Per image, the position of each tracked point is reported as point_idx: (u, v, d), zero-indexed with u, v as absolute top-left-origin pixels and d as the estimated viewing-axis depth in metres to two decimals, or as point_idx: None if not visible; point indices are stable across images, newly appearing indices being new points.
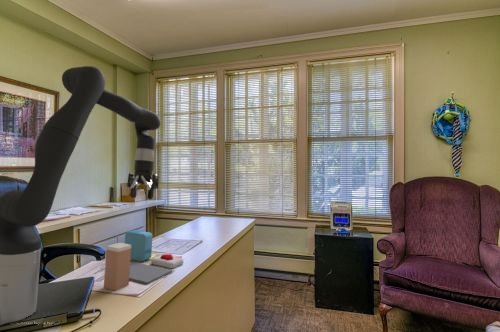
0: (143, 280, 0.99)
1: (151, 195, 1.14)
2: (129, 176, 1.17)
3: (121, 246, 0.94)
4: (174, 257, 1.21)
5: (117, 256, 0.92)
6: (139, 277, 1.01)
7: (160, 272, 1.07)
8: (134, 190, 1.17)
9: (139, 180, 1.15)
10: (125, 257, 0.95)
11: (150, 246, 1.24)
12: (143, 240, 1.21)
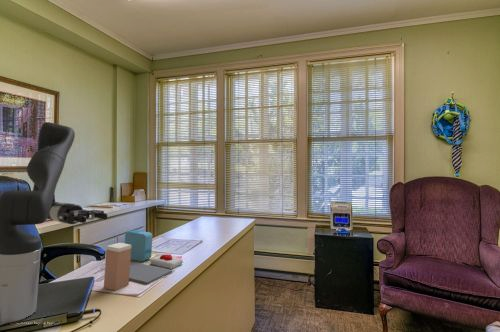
0: (143, 280, 0.99)
1: None
2: (63, 214, 0.98)
3: (121, 246, 0.94)
4: (173, 257, 1.21)
5: (117, 256, 0.92)
6: (139, 277, 1.01)
7: (160, 272, 1.07)
8: None
9: (80, 213, 1.02)
10: (125, 257, 0.95)
11: (150, 246, 1.24)
12: (143, 240, 1.21)
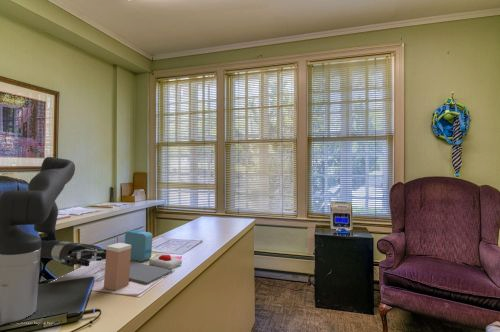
0: (143, 280, 0.99)
1: None
2: (65, 256, 0.96)
3: (121, 246, 0.94)
4: (172, 258, 1.20)
5: (117, 256, 0.92)
6: (139, 277, 1.01)
7: (160, 272, 1.07)
8: None
9: (82, 253, 1.00)
10: (125, 257, 0.95)
11: (150, 246, 1.24)
12: (143, 240, 1.21)
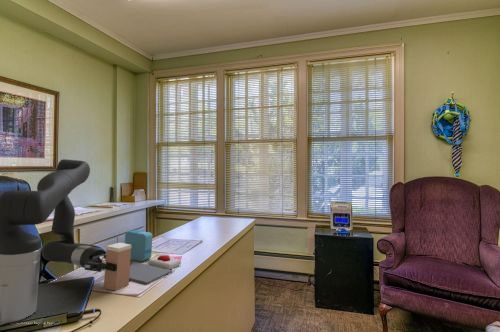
0: (143, 280, 0.99)
1: None
2: (89, 262, 0.92)
3: (121, 246, 0.94)
4: (171, 258, 1.20)
5: (117, 256, 0.92)
6: (139, 277, 1.01)
7: (160, 272, 1.07)
8: None
9: (104, 258, 0.97)
10: (125, 257, 0.95)
11: (150, 246, 1.24)
12: (143, 240, 1.21)
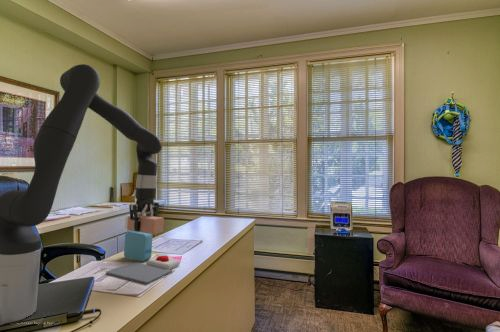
0: (143, 280, 0.99)
1: (135, 227, 1.04)
2: None
3: None
4: (170, 259, 1.19)
5: None
6: (139, 277, 1.01)
7: (160, 272, 1.07)
8: None
9: None
10: None
11: (150, 246, 1.24)
12: (143, 240, 1.21)
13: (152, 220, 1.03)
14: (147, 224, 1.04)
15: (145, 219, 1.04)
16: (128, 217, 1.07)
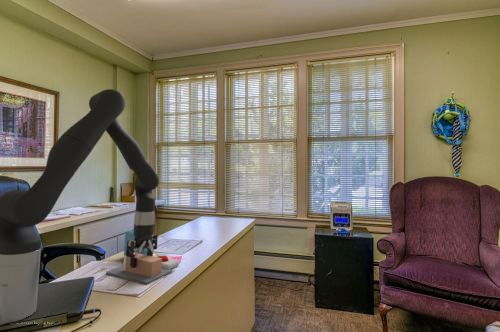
0: (143, 280, 0.99)
1: (131, 263, 1.03)
2: None
3: None
4: (169, 259, 1.19)
5: None
6: (139, 277, 1.01)
7: None
8: (148, 253, 1.11)
9: None
10: None
11: None
12: None
13: (150, 263, 1.03)
14: (145, 266, 1.03)
15: (143, 261, 1.04)
16: (126, 258, 1.07)
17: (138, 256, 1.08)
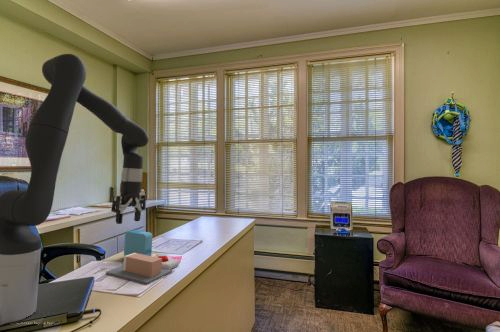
0: (143, 280, 0.99)
1: (116, 219, 1.01)
2: None
3: None
4: (169, 259, 1.19)
5: None
6: (139, 277, 1.01)
7: None
8: (136, 213, 1.10)
9: None
10: None
11: (150, 246, 1.24)
12: (143, 240, 1.21)
13: (150, 263, 1.03)
14: (145, 266, 1.03)
15: (143, 261, 1.04)
16: (126, 258, 1.07)
17: (138, 256, 1.08)
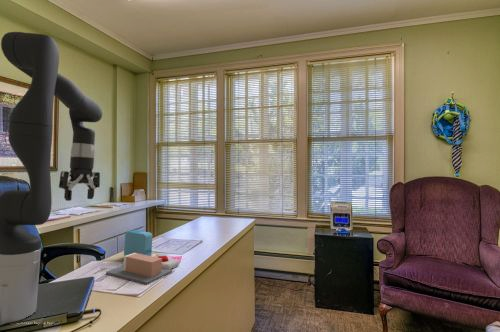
0: (143, 280, 0.99)
1: (65, 196, 0.97)
2: None
3: None
4: (169, 258, 1.19)
5: None
6: (139, 277, 1.01)
7: None
8: (89, 190, 1.06)
9: None
10: None
11: (150, 246, 1.24)
12: (143, 240, 1.21)
13: (150, 263, 1.03)
14: (145, 266, 1.03)
15: (143, 261, 1.04)
16: (126, 258, 1.07)
17: (138, 256, 1.08)
